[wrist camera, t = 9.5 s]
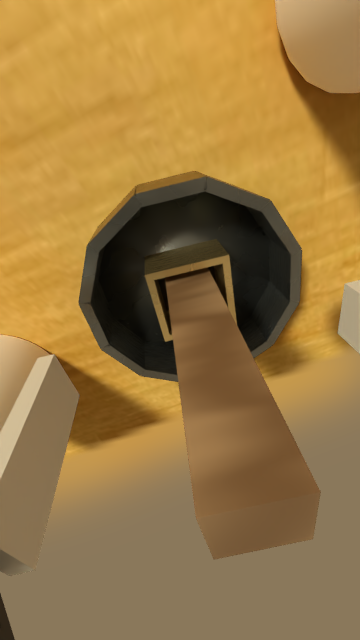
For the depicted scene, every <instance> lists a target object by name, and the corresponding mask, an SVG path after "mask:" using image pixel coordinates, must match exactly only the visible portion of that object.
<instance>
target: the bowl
mask: <svg viewBox="0 0 360 640" xmlns="http://www.w3.org/2000/svg"><path fill="white" fill-rule="evenodd" d="M301 249H302V248H301V247H300V245H299V244H298V242H297V241H296V239H295V238H294V236H293V234H292V233H291V231H290V230H289V228H288V227H287V225H286V223H285V222H284V220H283V219H282V217H281V216H280V214H279V212H278V211H277V209H276V208H275V206H274V205H273V203H272V201H270V200H269V199H267V198H264V197H262V196H259V195H257V194H254V193H252V192H250V191H247V190H244V189H242V188H239V187H236V186H234V185H231V184H228V183H226V182H223V181H220V180H218V179H215V178H212V177H210V176H207V175H204V174H202V173H199V172H196V171H192V172H188V173H184V174H180V175H176V176H172V177H168V178H164V179H160V180H156V181H151V182H147V183H143V184H139V185H137V186H135V187H134V188H133V190H132V191H131V192H130V193H129V194H128V195H127V196H126V197H125V198H124V199H123V200H122V201H121V203H120V204H119V205H118V206H117V207H116V208H115V209H114V210H113V211H112V212H111V213H110V215H109V216H108V217H107V218H106V219H105V220H104V221H103V222H102V223H101V224H100V225H99V226H98V228H97V230H96V231H95V233H94V235H93V236H92V238H91V240H90V241H89V243H88V245H87V249H86V256H85V262H84V269H83V276H82V282H81V289H80V296H79V306H80V308H81V310H82V312H83V314H84V316H85V318H86V320H87V322H88V324H89V326H90V328H91V330H92V332H93V334H94V337H95V339H96V341H97V343H98V345H99V347H100V349H101V350H102V351H104V352H105V353H107V354H108V355H110V356H111V357H113V358H114V359H116V360H117V361H119V362H120V363H122V364H123V365H125V366H126V367H128V368H129V369H131V370H132V371H134V372H135V373H137V374H138V375H141V376H144V377H150V378H157V379H163V380H169V381H176V382H178V374H177V367H176V359H175V351H174V343H173V336H172V328H171V320H170V312H169V305H168V297H167V289H166V281H165V277H169V276H173V275H177V274H182V273H186V272H190V271H194V270H198V269H202V268H206V267H208V269H209V271H210V273H211V275H212V277H213V279H214V281H215V283H216V285H217V287H218V289H219V291H220V293H221V295H222V297H223V299H224V301H225V303H226V305H227V307H228V309H229V311H230V313H231V315H232V316H233V318H234V320H235V322H236V324H237V326H238V328H239V330H240V332H241V334H242V336H243V338H244V340H245V342H246V344H247V346H248V348H249V350H250V352H251V354H252V356H253V358H255V357H256V356H258V355H259V354H261V353H262V352H264V351H265V350H267V349H268V348H269V347H271V346H272V344H274V343H275V341H276V340H277V338H278V336H279V335H280V333H281V332H282V330H283V328H284V327H285V325H286V323H287V322H288V320H289V319H290V317H291V315H292V314H293V312H294V310H295V309H296V307H297V306H298V304H299V302H300V284H301V262H302V250H301Z"/></svg>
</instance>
